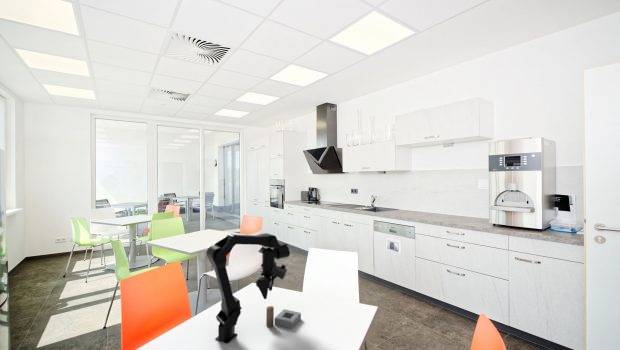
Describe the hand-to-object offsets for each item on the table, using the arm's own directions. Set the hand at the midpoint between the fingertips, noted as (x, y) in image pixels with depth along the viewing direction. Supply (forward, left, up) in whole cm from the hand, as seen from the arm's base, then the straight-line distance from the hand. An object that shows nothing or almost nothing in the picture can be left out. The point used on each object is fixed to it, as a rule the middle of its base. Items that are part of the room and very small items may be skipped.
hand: (267, 294), depth 128 cm
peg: (-3, -3, -12) cm, 13 cm away
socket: (+3, -9, -12) cm, 16 cm away
